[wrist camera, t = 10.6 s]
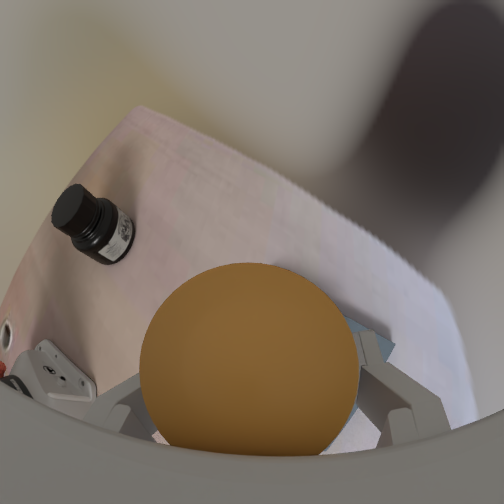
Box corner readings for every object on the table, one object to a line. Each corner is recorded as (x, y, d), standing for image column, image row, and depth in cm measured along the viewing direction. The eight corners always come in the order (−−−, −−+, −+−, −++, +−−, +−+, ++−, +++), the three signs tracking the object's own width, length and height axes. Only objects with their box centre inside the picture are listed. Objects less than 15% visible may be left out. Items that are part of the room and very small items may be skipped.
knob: (219, 379, 13) (109, 385, 6) (270, 303, 14) (214, 228, 7) (297, 431, 12) (268, 512, 4) (351, 350, 13) (401, 331, 5)
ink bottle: (130, 267, 40) (77, 233, 29) (91, 269, 41) (39, 240, 31) (141, 211, 43) (98, 168, 33) (102, 218, 45) (59, 182, 34)
